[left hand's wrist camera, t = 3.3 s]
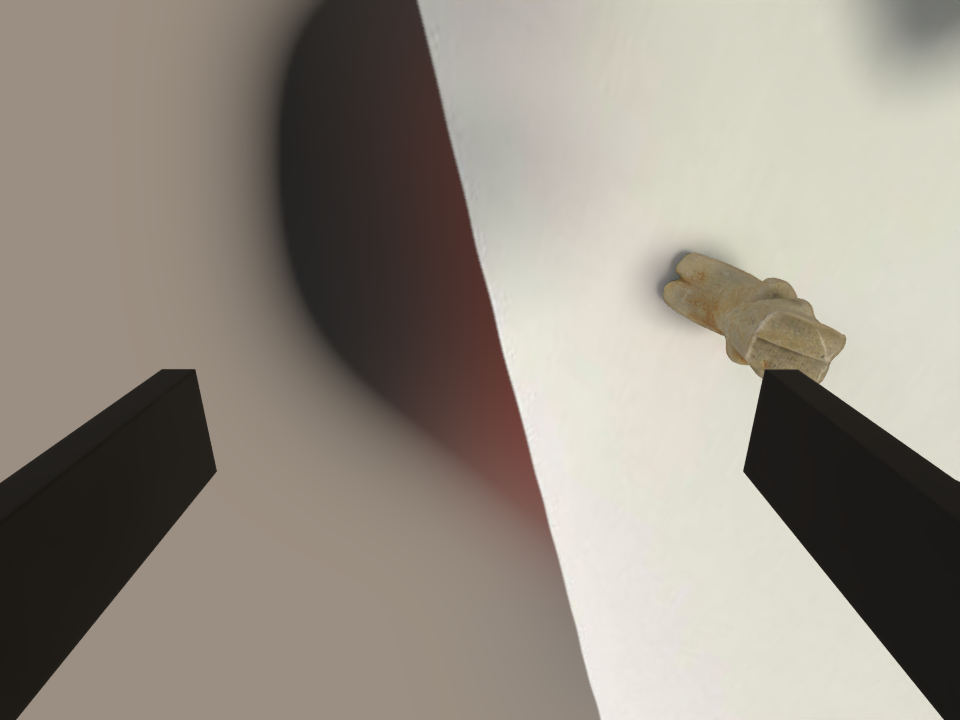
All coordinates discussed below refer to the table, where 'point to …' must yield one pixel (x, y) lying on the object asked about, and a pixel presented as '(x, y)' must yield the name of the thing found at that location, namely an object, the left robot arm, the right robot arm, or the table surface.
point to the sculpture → (754, 317)
